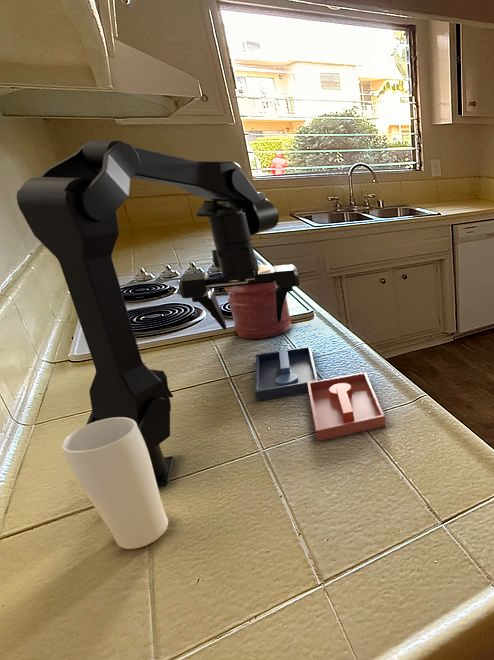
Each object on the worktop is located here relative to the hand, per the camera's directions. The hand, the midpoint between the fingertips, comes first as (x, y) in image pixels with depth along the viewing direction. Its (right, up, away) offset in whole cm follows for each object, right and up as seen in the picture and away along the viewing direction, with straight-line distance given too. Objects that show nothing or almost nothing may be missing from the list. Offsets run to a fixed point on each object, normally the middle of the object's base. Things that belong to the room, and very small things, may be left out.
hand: (252, 325), depth 86 cm
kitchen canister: (-11, +1, +29) cm, 31 cm away
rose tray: (+18, -15, -3) cm, 24 cm away
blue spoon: (+3, -9, +7) cm, 12 cm away
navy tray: (+3, -10, +8) cm, 13 cm away
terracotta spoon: (+18, -15, -4) cm, 24 cm away
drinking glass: (+1, -28, -29) cm, 40 cm away
